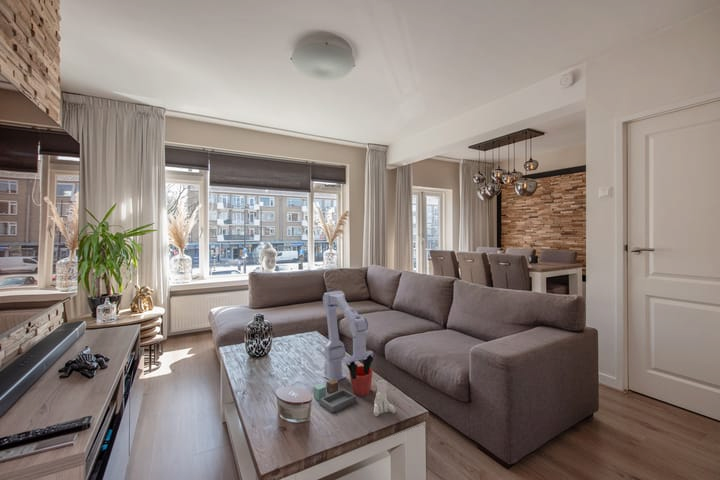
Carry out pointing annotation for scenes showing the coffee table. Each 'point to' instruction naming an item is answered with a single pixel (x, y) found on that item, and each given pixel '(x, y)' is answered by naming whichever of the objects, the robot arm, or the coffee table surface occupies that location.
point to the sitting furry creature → (382, 399)
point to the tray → (337, 400)
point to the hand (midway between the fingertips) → (360, 375)
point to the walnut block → (332, 386)
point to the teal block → (319, 391)
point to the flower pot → (361, 381)
